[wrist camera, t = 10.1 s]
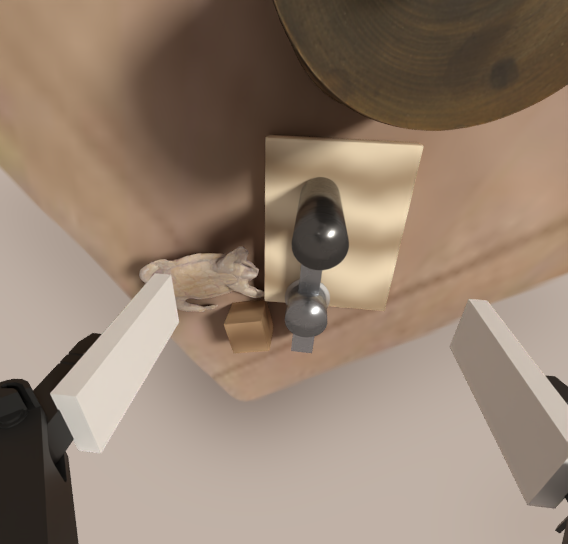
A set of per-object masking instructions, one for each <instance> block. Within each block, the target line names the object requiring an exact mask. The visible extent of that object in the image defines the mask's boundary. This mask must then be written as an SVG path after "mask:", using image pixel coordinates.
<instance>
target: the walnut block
mask: <svg viewBox="0 0 568 544" xmlns="http://www.w3.org/2000/svg"><path fill="white" fill-rule="evenodd" d="M224 327H225V330H226V333H227V336H228V338H229V341H230V344H231V347H232V350H233V353H246V352H259V351H269V349H270V344H271V339H272V334H273V328H274V326H273V322H272V319H271V315H270V311H269V307H268V303H267V301H265V299H264V300H255V301H246V302H236V303H232V305H231V308H230V310H229V313H228V315H227V318H226V320H225V323H224Z"/></svg>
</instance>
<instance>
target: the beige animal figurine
mask: <svg viewBox="0 0 568 544" xmlns="http://www.w3.org/2000/svg"><path fill="white" fill-rule="evenodd" d="M248 254H249V253H248V250H247V249H246V248H244V247H243V246H240V247H237V248H236V249H235V250H233V251H232V252H229V253H228V254H224V253H223V254H213V253H206V254H201V253H198V254H193V255H190V256H185V257H183V258H179V259H175V260H172V261H167V260H166V259H161V260H157V261H154V262H151V263H149V264H148V265H146V266H144V267H143V268H142V269H141V270H140V273H139V277H140V279H141V280H142V281H143V282H145V283H144V285H145V284H146V283H147V282H148V281H149V280H150V278H151V277H152V276H153V275H154V274H155V273H156V274H168V275H171V277H172V283H173V289H174V295H175V300H176V306H177V309H179V310H182V311H187V312H191V311H197V312H204V311H205V310H209V309H214V308H216V307H217V306H218V305H215V306H214V305H211V306H206V307H204V306H201V305H198V304H191V303H187V302H186V301H185V300H187V299H189V298H193V299H207V298H214V297H218V296H221V295H224V294H228V293H231V292H232V291H236V292H239V293H242V294H244V295H247V296H250V297H252V298H261V297H263V296H265V292H263V291H262V290H258V289H256V288H255V287H252V286H251V285H249V284H248V282H249V281H250V280H253V278H255V277H256V276H257V275H258V272H259V269H258V268H256V267H255V265H254V264H253V263H252V262H250V261H248V260H247V255H248Z"/></svg>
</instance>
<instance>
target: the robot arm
mask: <svg viewBox="0 0 568 544" xmlns="http://www.w3.org/2000/svg"><path fill="white" fill-rule="evenodd" d="M178 323H179V318H178V312H177V306H176V300H175V295H174V289H173V283H172V277H171V275H168V274H156V273H155V274H154V275H153V276H152V277H151V278H150V280H149V281H148V282H147V283H146V284H145V285H144V286H143V288H142V289H141V290H140V291H139V292H138V293H137V294H136V296H135V297H134V298H133V299H132V300H131V301H130V302H129V304H128V305H127V306H126V307H125V308H124V309H123V311H122V312H121V313H120V314H119V315H118V316H117V317H116V319H115V320H114V321H113V322H112V323H111V324H110V325H109V327H108V328H107V329H106V330H105V331H104V332H103V333H102V334H97V333H92V334H91V335H89V336H87V337H86V338H84V339H83V340H81V341H79V342H78V343H77V344H76V345H75V346H74V348H73V349H72V350H71V351H70V352H69V354H68V355H66V356H65V357H64V358H63V359H62V361H61V362H60V364H58V365H57V366H56V367H55V368H54V369H53V370H52V371H51V372H50V373H49V374H48V375H47V376H46V377H45V379H44V380H43V381H42V382H41V383H40V384H39V385H38V386H37V387H36V388H35V389H34V390H32V388H31V386H30V384H29V383H28V382H27V381H25V380H23V379H11V380H6V381H3V382H0V544H78V536H77V527H76V520H75V511H74V502H73V494H72V485H71V477H70V468H69V460H68V455H67V453H66V450H67V448H68V447H69V445H70V444H71V442H72V441H74V443H75V444H76V446H77V448H78V450H79V451H86V452H95V453H102V451H103V450H104V448H105V446H106V445H107V443H108V441H109V439H110V438H111V436H112V434H113V433H114V431H115V429H116V428H117V426H118V424H119V423H120V421H121V419H122V417H123V416H124V414H125V412H126V411H127V409H128V407H129V406H130V404H131V402H132V401H133V399H134V397H135V395H136V394H137V392H138V391H139V389H140V387H141V385H142V384H143V382H144V380H145V379H146V377H147V375H148V374H149V372H150V370H151V368H152V367H153V365H154V364H155V362H156V360H157V358H158V357H159V355H160V353H161V352H162V350H163V348H164V347H165V345H166V343H167V341H168V340H169V338H170V337H171V335H172V333H173V332H174V330H175V328H176V326H177V325H178ZM450 348H451V351H452V352H453V355H454V357H455V359H456V361H457V363H458V365H459V367H460V369H461V371H462V373H463V375H464V377H465V379H466V381H467V383H468V385H469V387H470V389H471V391H472V393H473V395H474V397H475V399H476V401H477V403H478V405H479V408H480V410H481V412H482V414H483V415H484V418H485V419H486V422H487V424H488V426H489V428H490V430H491V432H492V434H493V436H494V438H495V440H496V442H497V444H498V446H499V448H500V450H501V452H502V454H503V456H504V458H505V460H506V462H507V464H508V467H509V469H510V471H511V473H512V475H513V477H514V478H515V481H516V483H517V485H518V487H519V489H520V491H521V493H522V495H523V497H524V499H525V501H526V503H527V505H530V506H539V507H547V508H556V507H557V506H558V505H559V504H560V502H561V501H562V500H563V499H564V498H566V500H567V502H568V386H566V385H565V384H564V383H562V382H561V381H560V380H559V379H558V378H556V377H555V376H545V375H544V374H543V372H542V371H541V370H540V368H539V367H538V366H537V365H536V363H535V362H534V361H533V359H532V358H531V357H530V355H529V354H528V353H527V352H526V350H525V349H524V348H523V346H522V345H521V344H520V342H519V341H518V340H517V339H516V337H515V336H514V335H513V333H512V332H511V331H510V330H509V328H508V327H507V326H506V324H505V323H504V322H503V321H502V319H501V318H500V317H499V315H498V314H497V313H496V311H495V310H494V309H493V307H492V306H491V305H490V303H489V302H488V301H487V300H475V299H468V302H467V304H466V307H465V309H464V312H463V314H462V317H461V319H460V322H459V324H458V327H457V330H456V332H455V335H454V337H453V340H452V342H451V345H450ZM564 529H565V533H564V537H563V542H562V544H568V516H567V517H566V518H565V519H564V520H563V521H562V522H561V524H559V525H558V527H557V528H556V530H555V531H557V532H558V533H561V532H562V531H563V530H564Z"/></svg>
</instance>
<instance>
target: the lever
mask: <svg viewBox="0 0 568 544" xmlns="http://www.w3.org/2000/svg"><path fill="white" fill-rule="evenodd" d="M348 249H349V239H348V234H347V229H346V223H345V218H344V213H343V208H342V202H341V197H340V192H339V189H338V187H337V185H336V184H335V183H334V182H333V181H332V180H330V179H328V178H325V177H316V178H313V179H311V180H309V181H308V182H307V183H306V184H305V185H304V186H303V188H302V190H301V193H300V199H299V204H298V210H297V215H296V221H295V226H294V232H293V237H292V251H293V254H294V256H295V258H296V259H297V260H298V262H300V263H301V271H300V281H299V285H297V286H295V287H294V288H292V290H291V291H290V293H289V295H288V302H287V308H286V315H285V324H286V326H287V328H288V329H289V331H291V332H292V333H293V339H292V348H291V351H297V352H306V353H312V349H313V342H314V336H317V335H319V334H320V333H322V332H323V331H324V329H325V328H326V326H327V299H326V294H325V292H324V291H323V290H322V289H321V288H320V283H321V276H322V270H327V269H331V268H333V267H335V266H337V265H338V264H339V263H341V262H342V261H343V259H344V258H345V257H346V255H347V252H348Z"/></svg>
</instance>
